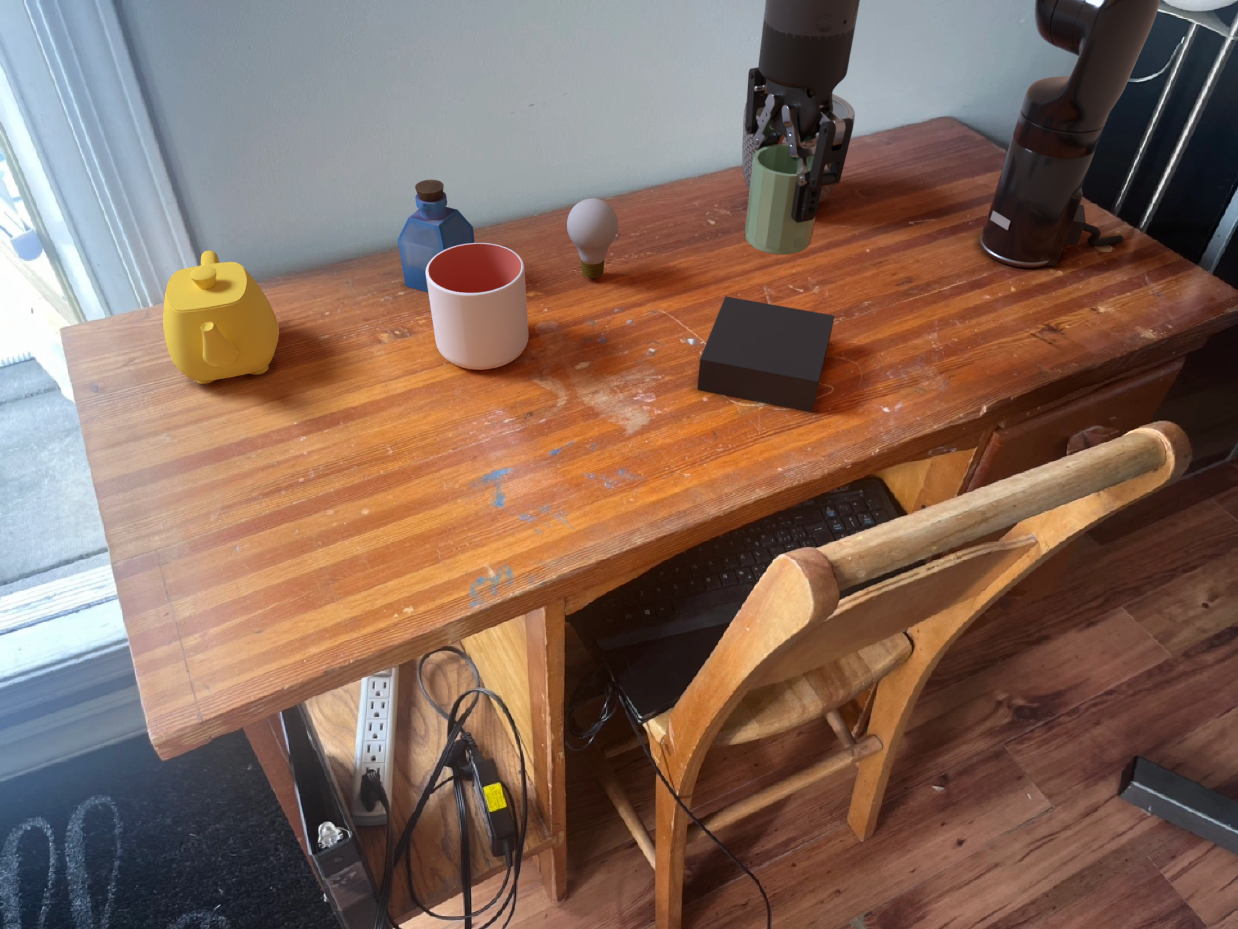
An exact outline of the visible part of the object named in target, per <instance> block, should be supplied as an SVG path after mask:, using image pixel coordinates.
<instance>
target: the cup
mask: <svg viewBox="0 0 1238 929" xmlns="http://www.w3.org/2000/svg"><path fill="white" fill-rule="evenodd" d="M525 271H526V270H525V263H524V261H523V259H522V257H521V256H520V255H519V254H518V253H517V252H515V251H514V250H512V249H510V248H509V247H505V246H503V245H500V244H496V243H495V244H494V243H489V242H475V243H469V244H462V245H458V246H454V247H451V248H448V249H446V250H444V251H442V252H440V253H438V254H437V255H436V256H434V257H433V258H432V259H431V260H430V262H429V263H428V265H427V267H426V279H427V286H428V292H427V293H428V300H429V305H430V306H429V307H430V312H431V318H432V327H433V333H434V339H435V340H434V341H435V346H436V347H437V350H438V352H439V353H440V355H441V356H442V357H443V358H444V359H445V360H446V361H448V362H449V363H451V364H453V365H455V366H457V367H460V368H463V369H468V370H474V371H475V370H477V371H478V370H479V371H481V370H482V371H483V370H491V369H496V368H500V367H503V366H505V365H507V364H509V363H511V362H513V361H514V360H516V359H517V358H518V357H520V355H521V354H523V352H524V350H525V349H526V347H527V345H528V342H529V337H530V335H529V333H530V332H529V319H528V317H529V316H528V303H527V287H526V275H525V274H526V272H525Z"/></svg>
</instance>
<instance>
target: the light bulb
mask: <svg viewBox="0 0 1238 929" xmlns="http://www.w3.org/2000/svg"><path fill="white" fill-rule="evenodd" d="M571 208H572V209H571V210H570V211H569V214H568V216H567V221H566V229H567V234H568V237H569V238H570V240H571V242H572V243H573V245H574V246H575V247H576V249H577V252H578V256H579V258H580V264H581V274H582V275H583V276H584V277H586V278H588V279H589V280H596V279H597V278H599V277H602V276H603V275H604V273H605V259H606V258H607V255H608V250H609V247H610V246H611V245H612V243H613V242H614V240H615V239H616V237H617V234H618V231H619V220H618V216H617V214H616V212H615V210H614V209H613V207H612V206H611V205H610V204H609V203H607V202H606V201H604V200H602V199H600V198H585V199H582V200H580V201H579V202H578V203H576V204H575V205H574V206H573V207H571Z"/></svg>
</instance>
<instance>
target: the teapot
mask: <svg viewBox="0 0 1238 929" xmlns="http://www.w3.org/2000/svg"><path fill="white" fill-rule="evenodd" d="M162 326H163V335H164V341H165V344H166V349H167V351H168V354H169V357H170V359H171V361H172V363H173V365H174V367H176V369H177V370H178V371H179V372H180V373H182V374H183V375H184V376H186V377H187V378H188V379H191V380H192V381H196V383H198V384H201V385H205V384H210V383H213V382H214V381H215V380H221V379H228V378H233V377H238V376H239V377H240V376H243V375H248V374H250V375H262V374H264V373H265V372H267V371H268V370H269V367H270V366H269V364H270V363H271V362H272V360H273V357H274V355H275V353H276V349H277V346H278V342H279V335H280V331H279V328H280V327H279V322H278V318H277V316H276V314H275V311H274V309H273V307H272V305H271V303H270V301H269V299H268V297H267V296H266V294H265V293H264V291H263V290H262V288H261V287H260V285H259V284H258V282H257V281H256V280H255V279H254V278H253V276H252V275H251V274H250V272H249V271H248V270H247V269H246V268H245V267H244V266H243V265H242V264H241V263H239V262H235V261H224V262H220V259H219V257H218V254H217V253H216V252H215V251H214V250H205V251H204V252H202V254H201V257H200V265H195V266H190V267H186V268H181V269H178V270H176V271H175V272H174V273H173V274H172V275H171V276H170V278H169V279H168V282H167V285H166V289H165V294H164V302H163V312H162Z"/></svg>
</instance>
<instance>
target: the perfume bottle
mask: <svg viewBox="0 0 1238 929" xmlns="http://www.w3.org/2000/svg"><path fill="white" fill-rule="evenodd" d="M444 186H445V184H444V182H442V181H441V180H438V179H425V180H424V179H423V180H421V181H419V182H417V183H416V184H415V185H414V188H415V191H416V194H415V197H414V201H415V206H416V208H417V210H416V211H415V212H413V213H412V214H411V215H409V216H408V217H407V219H406V221H405V223H404V225H403V228H402V230H401V232H400V233H399V236H398V238H397V244H398V250H399V257H400V261H401V268H402V273H403V274H402V275H403V279H404V286H405V287H407V288H411V289H413V290H417V291H421V292H424V293H428V286H427V279H426V267H427V265H428V263H429V262H430V260H431V259H432V258H433V257H434V256H436V255H437V254H438V253H440V252H442V251H444V250H446V249H448V248H451V247H454V246H458V245H462V244H469V243H476V241H475V232H474V226H473V225H472V224H471V223H470V222H469V220H467V218H466V217H465V216H464V214H462V213H461V212H460V211H459V209H457V208H453V207H448V197H447V193H446V192H445V191H444Z"/></svg>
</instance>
